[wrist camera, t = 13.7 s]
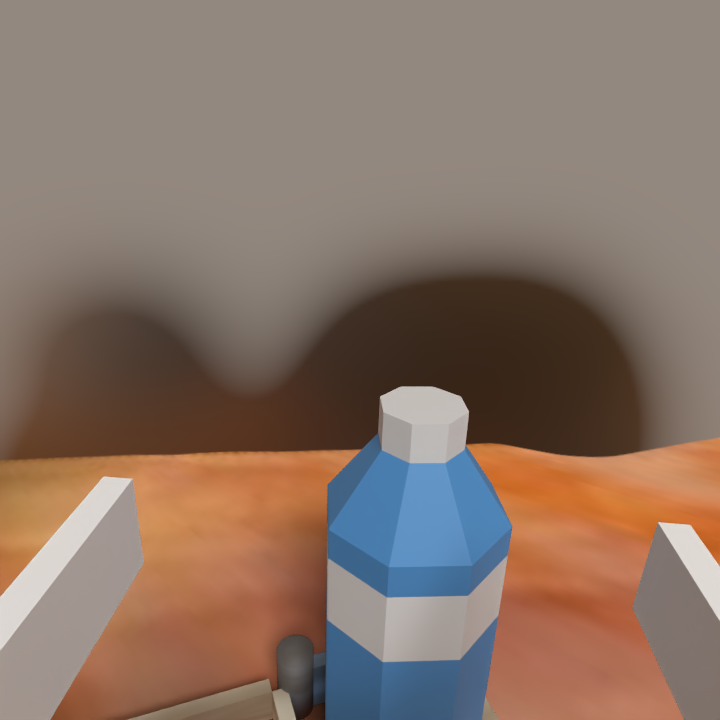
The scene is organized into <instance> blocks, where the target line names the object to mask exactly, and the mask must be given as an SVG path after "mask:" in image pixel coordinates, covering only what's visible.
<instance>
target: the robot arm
mask: <svg viewBox="0 0 720 720" xmlns="http://www.w3.org/2000/svg"><path fill="white" fill-rule="evenodd" d="M143 564H144V561H143V554H142V546H141V538H140V531H139V523H138V515H137V508H136V500H135V492H134V485H133V479H128V478H116V477H103V478H102V479H101V480H100V481H99V483H98V484H97V485H96V486H95V487H94V488H93V490H92V491H91V492H90V493H89V494H88V495H87V497H86V498H85V499H84V500H83V501H82V502H81V503H80V505H79V506H78V507H77V508H76V509H75V510H74V512H73V513H72V514H71V515H70V516H69V517H68V519H67V520H66V521H65V522H64V523H63V524H62V526H61V527H60V528H59V529H58V530H57V531H56V533H55V534H54V535H53V536H52V537H51V538H50V540H49V541H48V542H47V543H46V544H45V545H44V547H43V548H42V549H41V550H40V551H39V552H38V554H37V555H36V556H35V557H34V558H33V559H32V561H31V562H30V563H29V564H28V565H27V566H26V568H25V569H24V570H23V571H22V572H21V573H20V574H19V576H18V577H17V578H16V579H15V580H14V581H13V583H12V584H11V585H10V586H9V587H8V588H7V590H6V591H5V592H4V593H3V594H2V595H1V597H0V720H50V719H51V718H52V716H53V714H54V713H55V711H56V709H57V708H58V706H59V704H60V703H61V701H62V699H63V698H64V696H65V694H66V693H67V691H68V689H69V688H70V686H71V684H72V682H73V681H74V679H75V677H76V676H77V674H78V672H79V671H80V669H81V667H82V666H83V664H84V662H85V661H86V659H87V657H88V656H89V654H90V652H91V651H92V649H93V647H94V646H95V644H96V642H97V641H98V639H99V637H100V636H101V634H102V632H103V631H104V629H105V627H106V626H107V624H108V622H109V621H110V619H111V617H112V616H113V614H114V612H115V611H116V609H117V607H118V606H119V604H120V602H121V601H122V599H123V597H124V596H125V594H126V592H127V591H128V589H129V587H130V586H131V584H132V582H133V581H134V579H135V577H136V576H137V574H138V572H139V571H140V569H141V567H142V566H143ZM632 608H633V610H634V612H635V615H636V617H637V619H638V621H639V623H640V625H641V628H642V630H643V632H644V634H645V636H646V638H647V641H648V643H649V645H650V647H651V649H652V651H653V653H654V656H655V658H656V660H657V662H658V664H659V666H660V669H661V671H662V673H663V675H664V677H665V679H666V682H667V684H668V686H669V688H670V690H671V692H672V695H673V697H674V699H675V701H676V703H677V705H678V707H679V710H680V712H681V714H682V716H683V718H684V720H720V567H719V565H718V564H717V562H716V561H715V559H714V558H713V557H712V555H711V554H710V552H709V551H708V550H707V548H706V547H705V545H704V544H703V542H702V541H701V540H700V538H699V537H698V535H697V534H696V532H695V531H694V530H693V528H692V527H691V525H684V524H672V523H660V522H658V524H657V527H656V531H655V534H654V537H653V541H652V544H651V547H650V551H649V554H648V557H647V561H646V564H645V567H644V571H643V574H642V577H641V581H640V584H639V587H638V591H637V594H636V597H635V601H634V604H633V607H632Z"/></svg>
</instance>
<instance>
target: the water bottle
mask: <svg viewBox="0 0 720 720" xmlns="http://www.w3.org/2000/svg"><path fill="white" fill-rule="evenodd" d="M468 416H469V411H468V410H467V407H466V406H465V404H464V402H463V400H462V398H461V397H460V396H457V395H455V394H452V393H449V392H446V391H443V390H441V389H438V388H435V387H399V388H397V389H395V390H393V391H391V392H389V393H387V394H385V395H383V396H381V397H380V410H379V431H378V434H377V435H376V436H375V437H374V438H373V439H372V440H371V441H370V442H369V443H368V444H367V445H366V446H365V447H364V448H363V449H362V450H361V451H360V452H359V453H358V454H357V455H356V456H355V457H354V458H353V459H352V460H351V461H350V462H349V463H348V464H347V465H346V466H345V467H344V468H343V469H342V471H341V472H340V473H339V474H338V475H337V476H336V477H335V478H334V479H333V480H332V481H331V482H330V483H329V484H328V494H327V584H326V674H325V720H482V715H483V709H484V702H485V696H486V690H487V683H488V677H489V671H490V664H491V658H492V652H493V645H494V639H495V633H496V626H497V620H498V614H499V607H500V601H501V595H502V588H503V582H504V576H505V569H506V563H507V557H508V550H509V544H510V538H511V531H512V525H511V523H510V521H509V519H508V517H507V515H506V513H505V511H504V508H503V506H502V504H501V502H500V500H499V498H498V496H497V494H496V492H495V490H494V487H493V485H492V483H491V482H490V480H489V479H488V477H487V476H486V474H485V473H484V471H483V470H482V469H481V467H480V466H479V464H478V463H477V461H476V460H475V458H474V457H473V455H472V454H471V452H470V451H469V449H468V448H467V446H466V445H465V442H466V433H467V425H468Z"/></svg>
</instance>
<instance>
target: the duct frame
mask: <svg viewBox="0 0 720 720" xmlns="http://www.w3.org/2000/svg"><path fill="white" fill-rule="evenodd" d="M325 674H326V651H325V652H322V653H318V654H315V655H314V647H313V644H312V642H311V641H310V640H309V639H308V638H307V637H305V636H302V635H291V636H288V637H286V638H284V639H283V640H282V641H281V642H280V643H279V645H278V647H277V679H278V690H275V691H272V689H271V685H270V681H269V679H266V680H262V681H259V682H255V683H252V684H248V685H245V686H242V687H238V688H235V689H231V690H228V691H224V692H221V693H217V694H214V695H211V696H207V697H204V698H200V699H197V700H193V701H190V702H186V703H183V704H180V705H176V706H173V707H169V708H166V709H162V710H159V711H155V712H152V713H148V714H145V715H142V716H138V717H135V718H131V719H128V720H269V719H272V718H273V720H301V719H304V718H305V717H307V716H308V715H309V714H310V713H311V711H312V709H313V706H314V705H317V704H320V703H323V702H325ZM482 720H499V719H498V717H497V715H496V714H495V712H494V711H493V709H492V707H491V706H490V704H489V702H488V701H487V699H486V698H485V702H484V709H483V715H482Z"/></svg>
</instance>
